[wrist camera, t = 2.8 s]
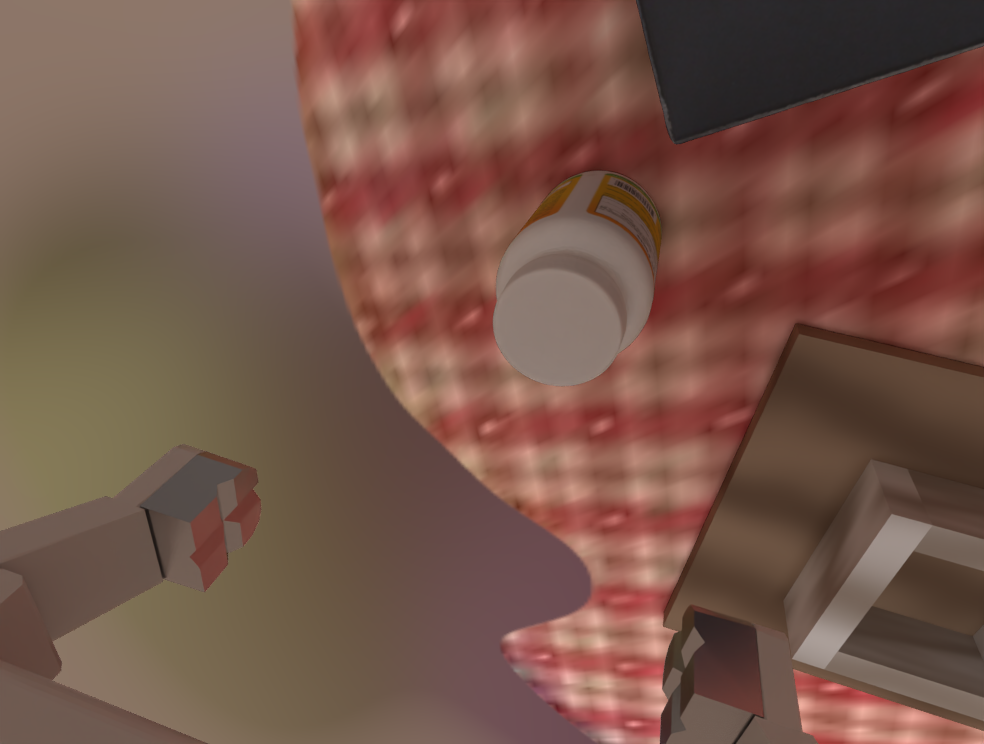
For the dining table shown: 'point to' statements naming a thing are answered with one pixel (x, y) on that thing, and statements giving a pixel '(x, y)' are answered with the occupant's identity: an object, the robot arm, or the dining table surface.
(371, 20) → the dining table surface
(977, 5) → the small box
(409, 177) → the dining table surface
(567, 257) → the supplement bottle
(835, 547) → the socket plate
